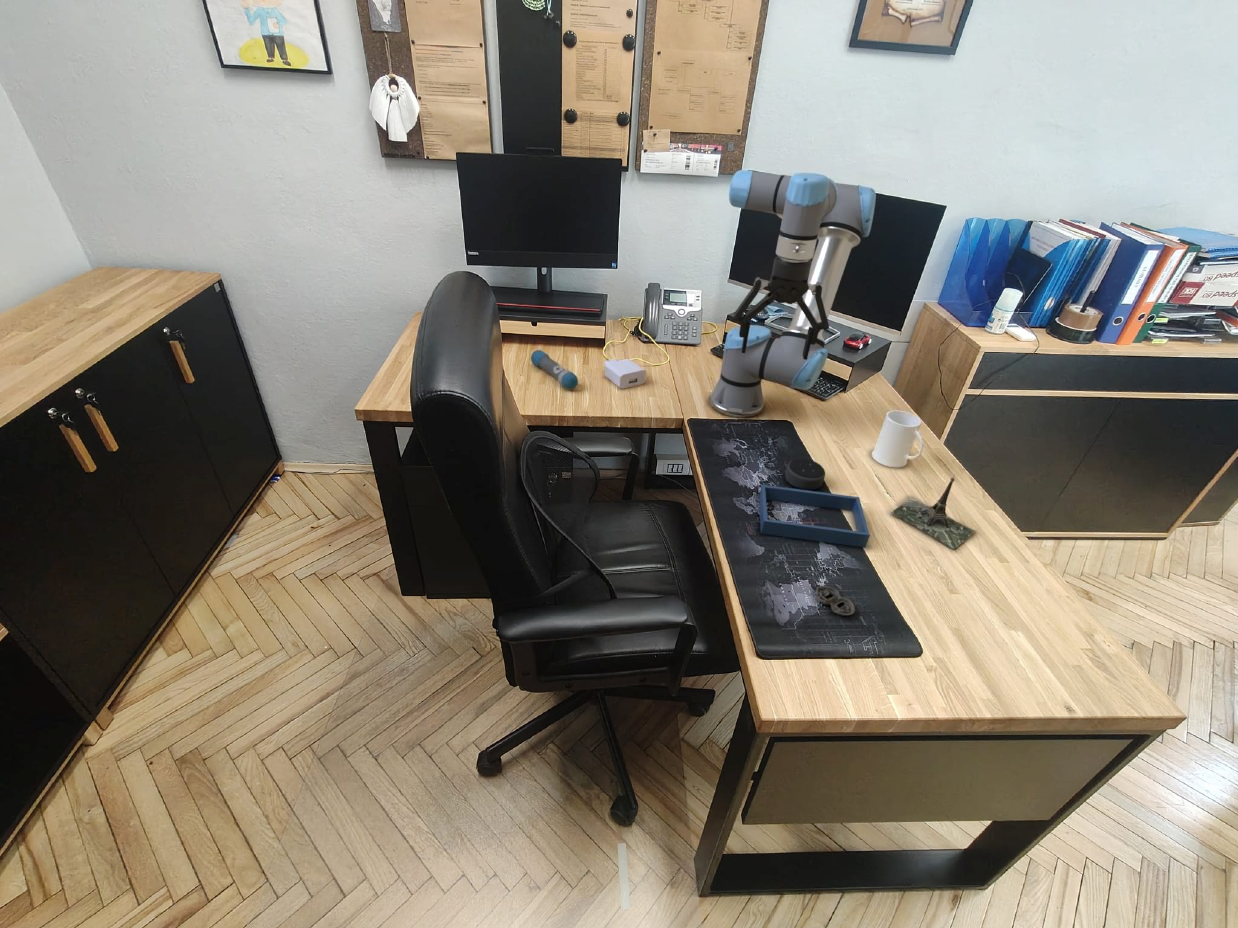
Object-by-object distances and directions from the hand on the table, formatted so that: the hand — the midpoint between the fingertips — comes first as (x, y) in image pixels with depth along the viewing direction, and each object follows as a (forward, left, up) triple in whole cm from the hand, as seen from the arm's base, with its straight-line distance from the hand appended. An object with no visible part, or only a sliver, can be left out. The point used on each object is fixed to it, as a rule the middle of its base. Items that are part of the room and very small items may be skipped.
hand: (773, 354), depth 133 cm
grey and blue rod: (-32, -59, -29) cm, 74 cm away
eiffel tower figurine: (+17, +39, -29) cm, 51 cm away
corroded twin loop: (+46, +14, -29) cm, 56 cm away
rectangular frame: (+22, +12, -29) cm, 38 cm away
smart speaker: (+7, +12, -29) cm, 32 cm away
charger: (-38, -40, -29) cm, 62 cm away
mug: (-7, +36, -29) cm, 47 cm away
